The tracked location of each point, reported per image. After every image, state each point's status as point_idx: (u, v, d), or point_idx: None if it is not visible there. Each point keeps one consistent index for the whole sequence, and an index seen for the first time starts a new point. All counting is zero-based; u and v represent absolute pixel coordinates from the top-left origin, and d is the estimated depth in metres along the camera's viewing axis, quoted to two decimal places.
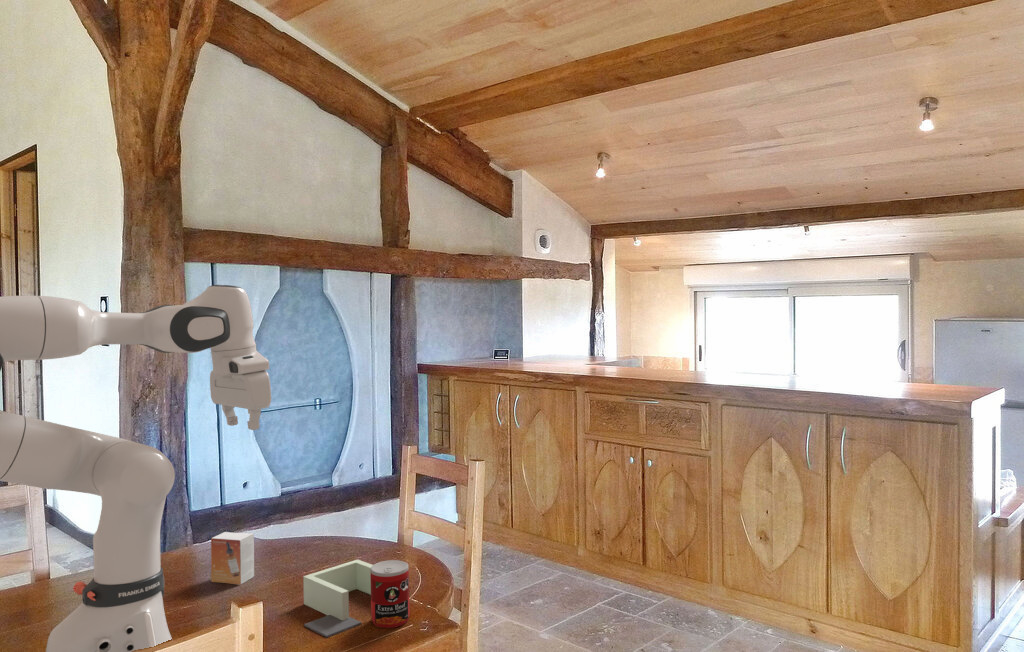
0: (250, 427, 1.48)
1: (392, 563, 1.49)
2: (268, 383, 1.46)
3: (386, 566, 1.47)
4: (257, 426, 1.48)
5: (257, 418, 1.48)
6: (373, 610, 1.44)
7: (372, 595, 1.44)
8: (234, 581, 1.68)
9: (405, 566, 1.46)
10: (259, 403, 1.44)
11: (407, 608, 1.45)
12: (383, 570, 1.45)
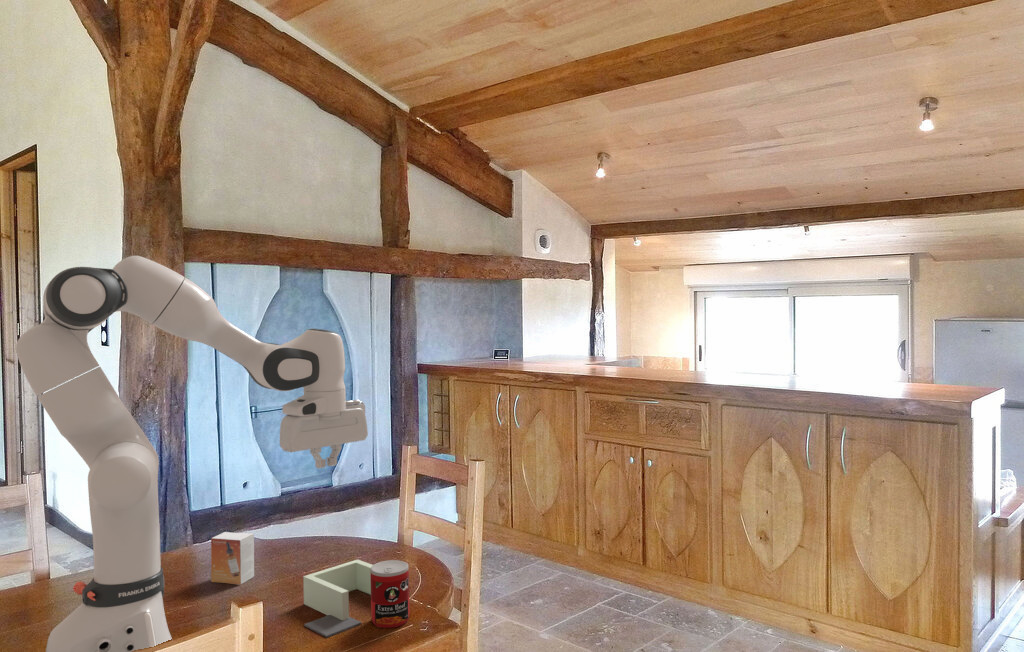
0: None
1: (392, 563, 1.49)
2: (289, 429, 1.49)
3: (386, 566, 1.47)
4: (318, 465, 1.55)
5: (317, 458, 1.55)
6: (373, 610, 1.44)
7: (372, 595, 1.44)
8: (234, 581, 1.68)
9: (405, 566, 1.46)
10: (281, 446, 1.50)
11: (407, 608, 1.45)
12: (383, 570, 1.45)
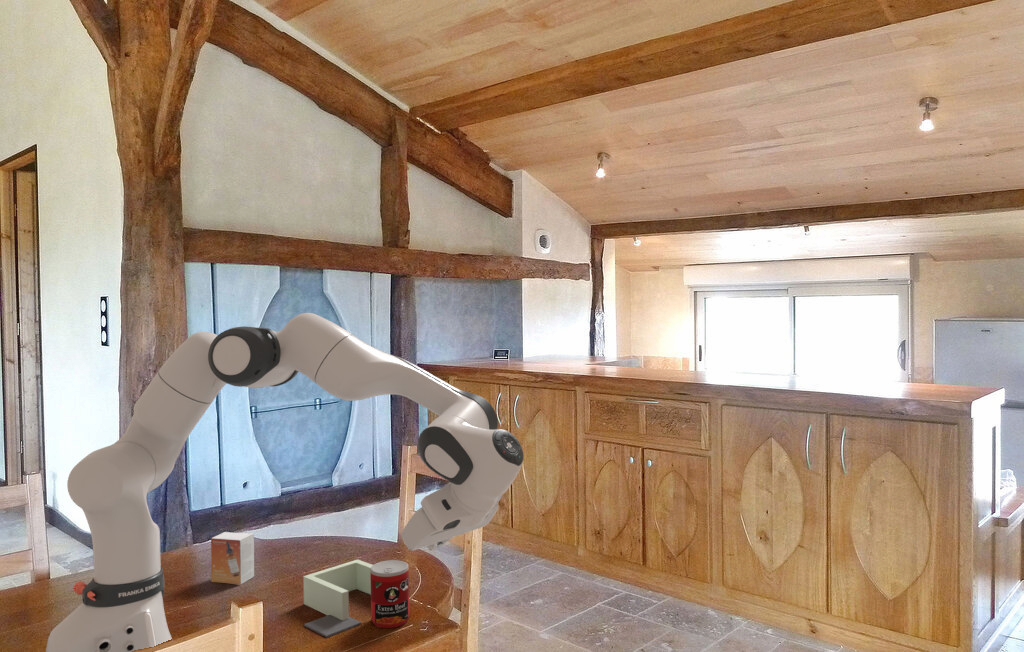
0: None
1: (392, 563, 1.49)
2: (421, 536, 1.26)
3: (386, 566, 1.47)
4: (430, 548, 1.37)
5: (432, 543, 1.36)
6: (373, 610, 1.44)
7: (372, 595, 1.44)
8: (234, 581, 1.68)
9: (405, 566, 1.46)
10: (403, 537, 1.29)
11: (407, 608, 1.45)
12: (383, 570, 1.45)
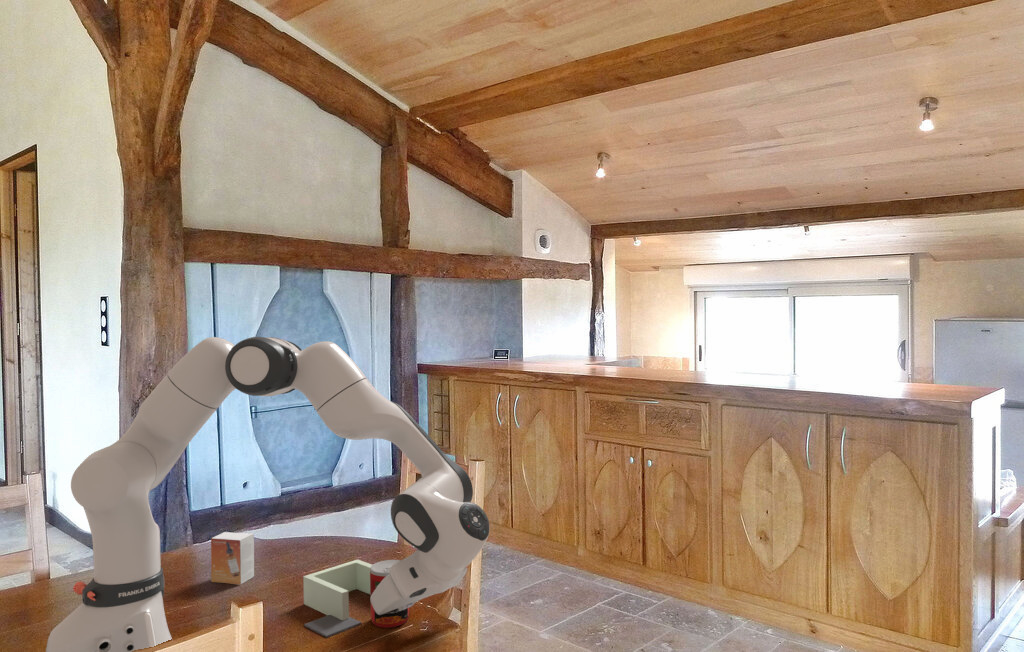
0: None
1: (392, 562, 1.49)
2: (388, 603, 1.31)
3: (386, 566, 1.48)
4: (399, 608, 1.42)
5: None
6: (373, 610, 1.44)
7: None
8: (234, 581, 1.68)
9: None
10: (372, 602, 1.33)
11: (407, 608, 1.45)
12: (383, 570, 1.45)
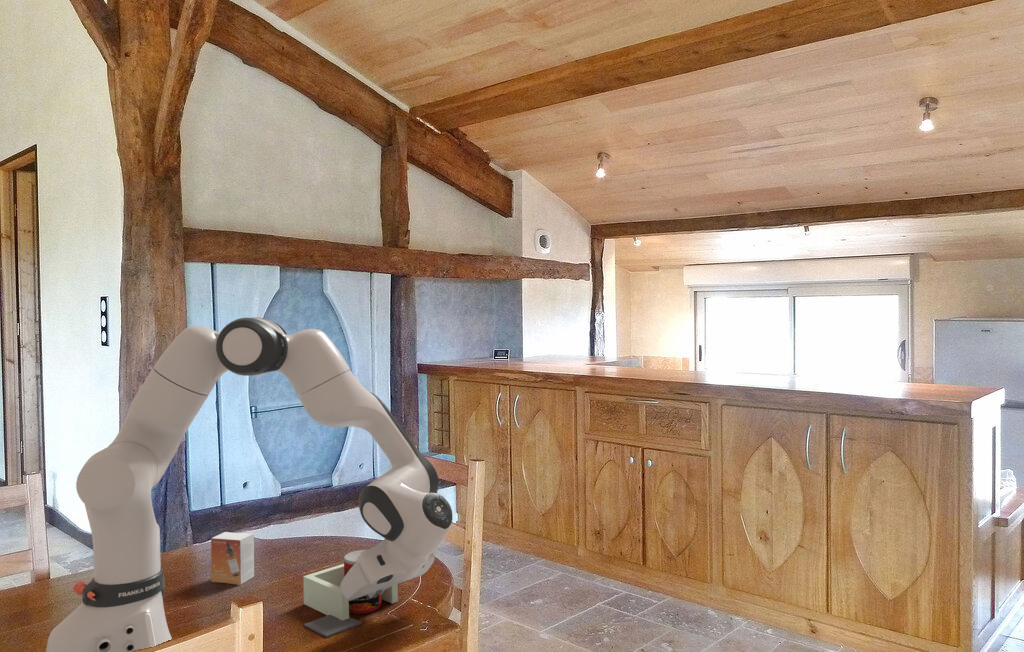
0: None
1: None
2: (356, 589, 1.37)
3: None
4: (370, 595, 1.48)
5: None
6: None
7: None
8: (234, 581, 1.68)
9: None
10: (341, 588, 1.40)
11: (378, 596, 1.52)
12: (355, 558, 1.52)
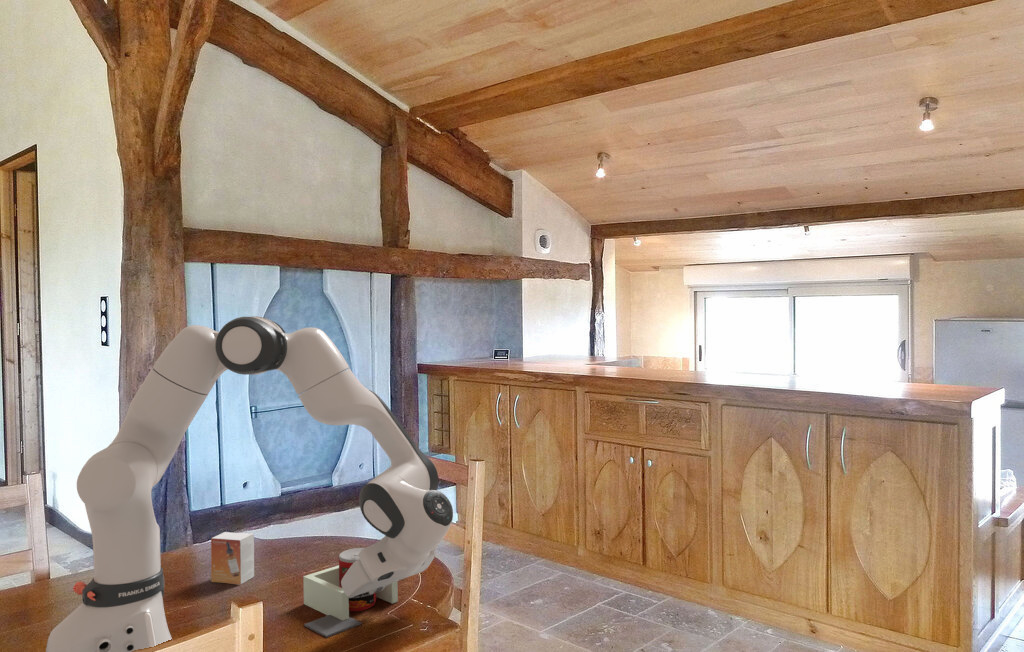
0: None
1: None
2: (357, 586, 1.38)
3: (355, 553, 1.56)
4: (370, 592, 1.49)
5: None
6: None
7: (340, 580, 1.53)
8: (234, 581, 1.68)
9: None
10: (342, 585, 1.41)
11: None
12: (350, 556, 1.54)
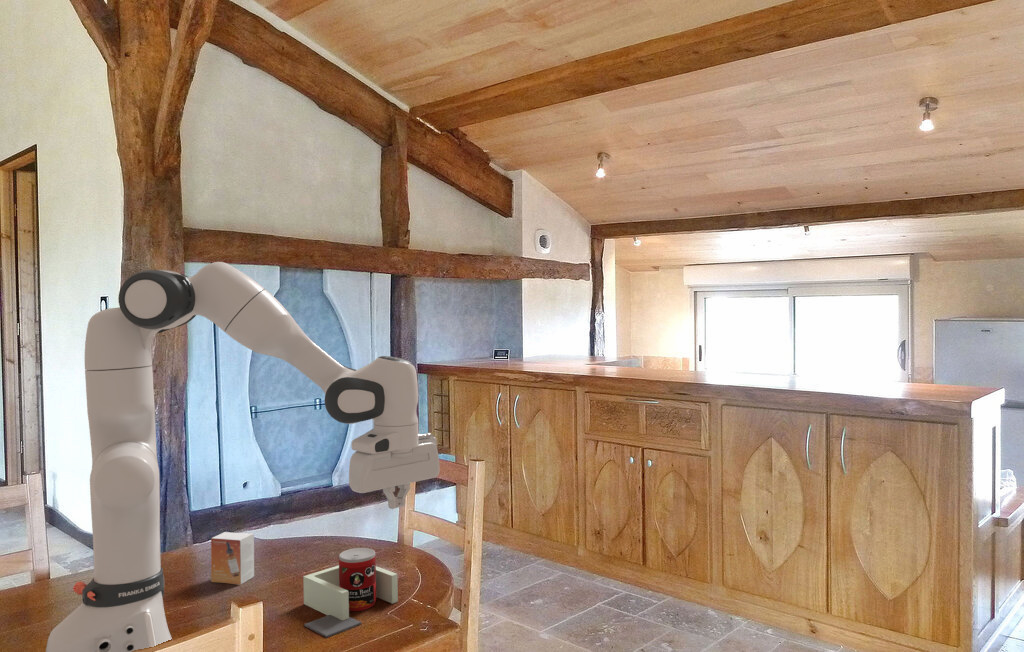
0: None
1: (362, 550, 1.58)
2: (361, 468, 1.35)
3: (355, 553, 1.56)
4: (392, 506, 1.42)
5: (390, 497, 1.42)
6: None
7: (340, 580, 1.53)
8: (234, 581, 1.68)
9: (372, 553, 1.55)
10: (351, 486, 1.37)
11: (372, 593, 1.53)
12: (350, 556, 1.54)
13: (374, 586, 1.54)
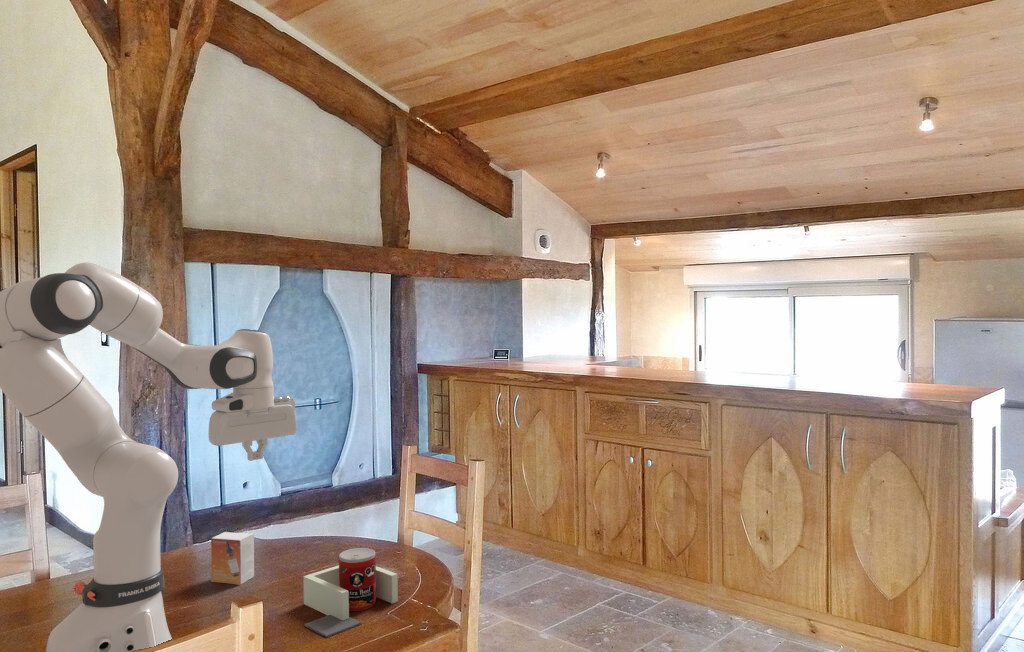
0: None
1: (362, 550, 1.58)
2: (216, 424, 1.58)
3: (355, 553, 1.56)
4: (250, 458, 1.65)
5: (248, 451, 1.65)
6: None
7: (340, 580, 1.53)
8: (234, 581, 1.68)
9: (371, 553, 1.55)
10: (210, 440, 1.60)
11: (372, 593, 1.53)
12: (350, 556, 1.54)
13: (374, 586, 1.54)
